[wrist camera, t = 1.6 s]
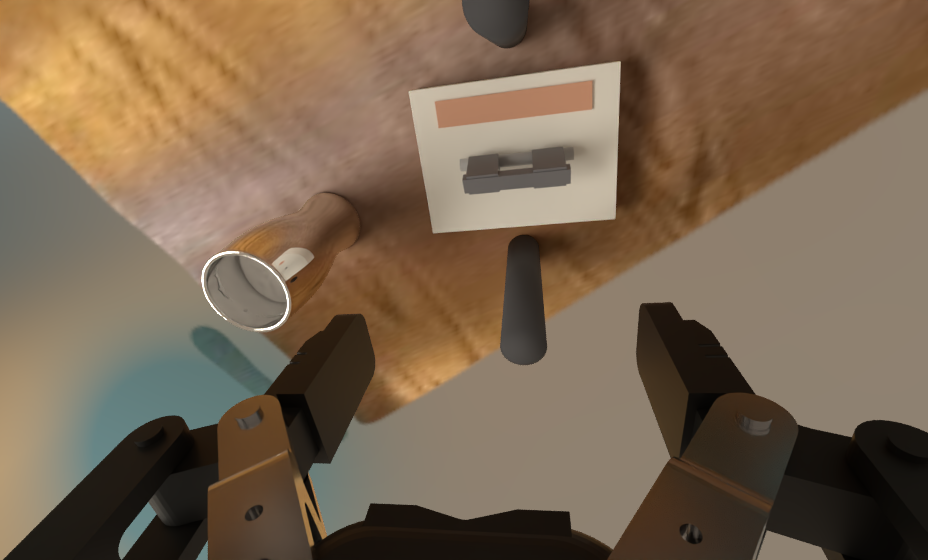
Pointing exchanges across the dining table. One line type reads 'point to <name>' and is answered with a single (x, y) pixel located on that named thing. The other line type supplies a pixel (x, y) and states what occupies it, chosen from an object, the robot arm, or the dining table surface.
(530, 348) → the post
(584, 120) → the breaker panel
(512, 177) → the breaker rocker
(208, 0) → the dining table surface
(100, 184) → the dining table surface
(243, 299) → the beer glass
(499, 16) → the cable post near arm
